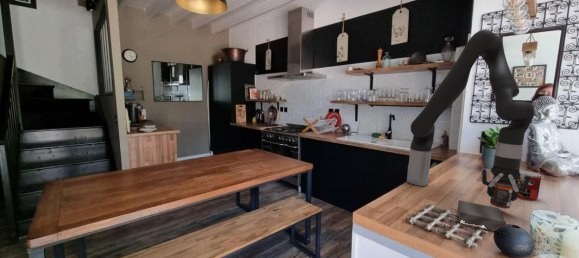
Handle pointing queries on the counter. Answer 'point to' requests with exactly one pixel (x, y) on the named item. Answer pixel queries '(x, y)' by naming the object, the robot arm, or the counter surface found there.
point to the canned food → (529, 186)
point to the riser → (480, 215)
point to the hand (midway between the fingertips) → (500, 197)
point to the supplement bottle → (502, 193)
